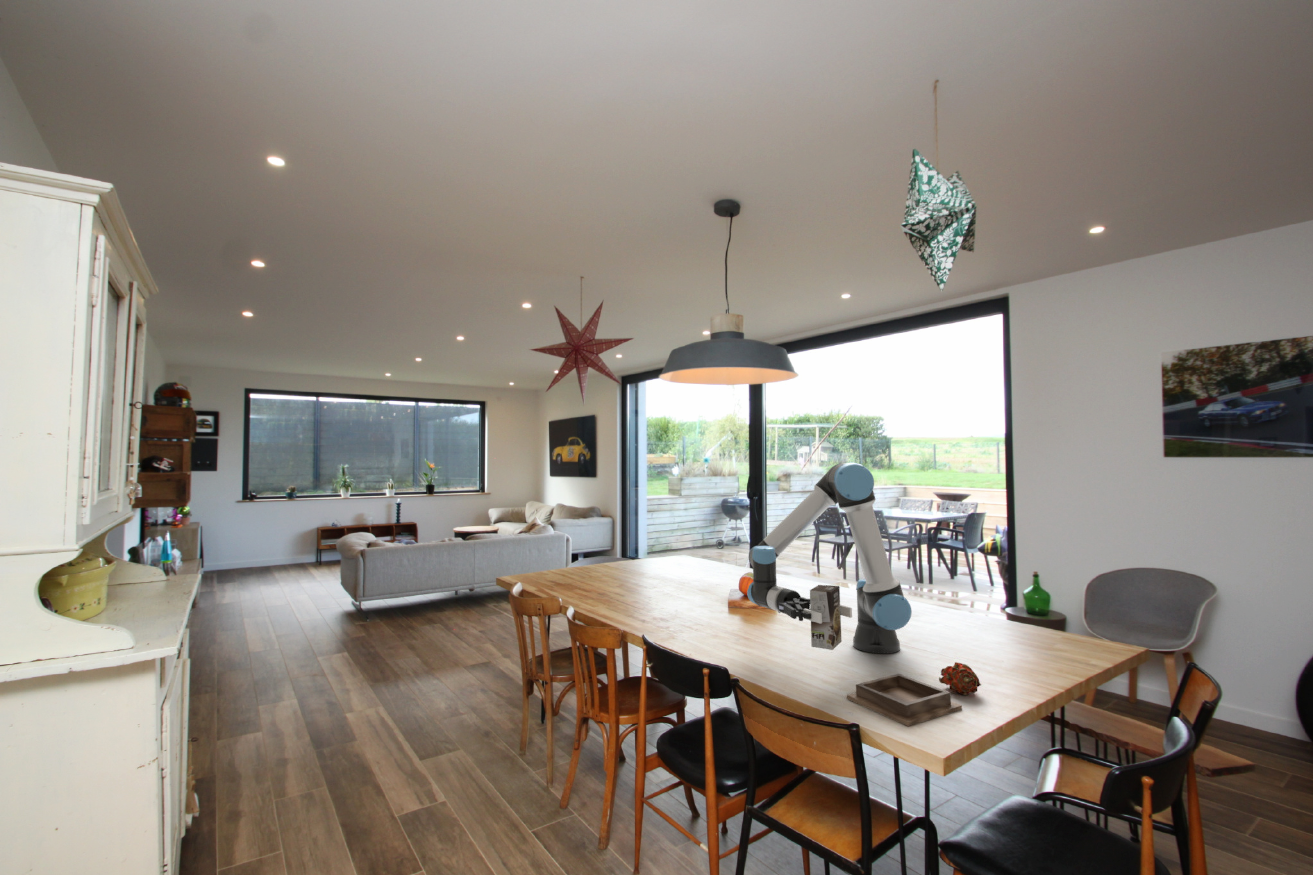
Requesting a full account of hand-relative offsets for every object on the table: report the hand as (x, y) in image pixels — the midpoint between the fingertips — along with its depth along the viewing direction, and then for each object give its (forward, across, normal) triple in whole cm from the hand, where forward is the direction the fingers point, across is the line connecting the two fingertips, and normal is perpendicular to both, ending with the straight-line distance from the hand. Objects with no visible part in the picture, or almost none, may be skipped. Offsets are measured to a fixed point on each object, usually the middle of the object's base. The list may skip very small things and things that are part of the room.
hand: (836, 615), depth 171 cm
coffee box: (-4, 0, -9) cm, 10 cm away
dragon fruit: (+17, -28, -22) cm, 39 cm away
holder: (+15, -8, -21) cm, 27 cm away
